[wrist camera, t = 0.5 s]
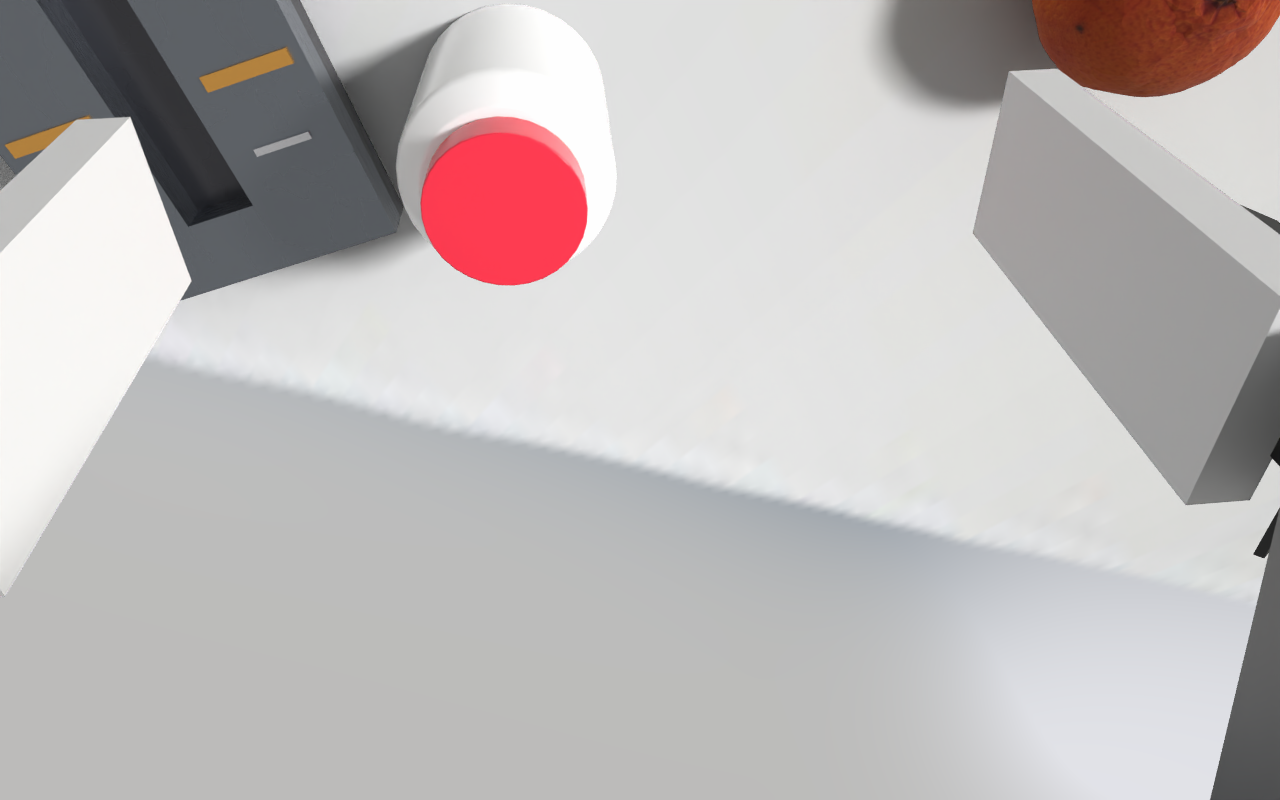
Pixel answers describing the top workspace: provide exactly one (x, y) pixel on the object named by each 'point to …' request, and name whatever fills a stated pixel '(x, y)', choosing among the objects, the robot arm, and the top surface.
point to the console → (205, 122)
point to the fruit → (1150, 40)
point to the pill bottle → (508, 146)
